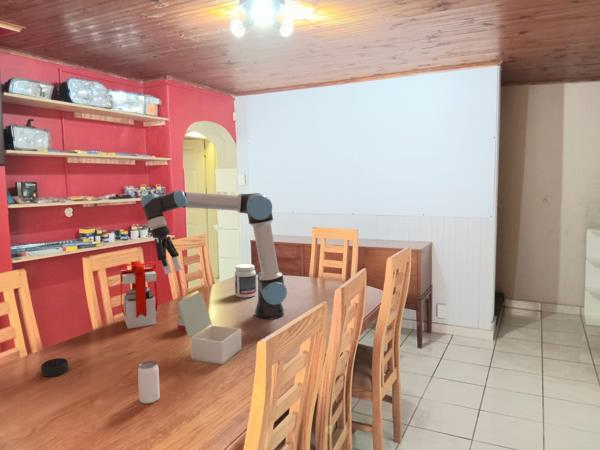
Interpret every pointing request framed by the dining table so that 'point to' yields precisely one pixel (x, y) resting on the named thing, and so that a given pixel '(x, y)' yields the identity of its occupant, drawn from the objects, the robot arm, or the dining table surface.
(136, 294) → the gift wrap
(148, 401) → the can
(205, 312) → the lid
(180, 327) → the ink box
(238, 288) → the supplement tub
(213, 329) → the storage box
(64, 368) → the smart speaker
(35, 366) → the dining table surface
